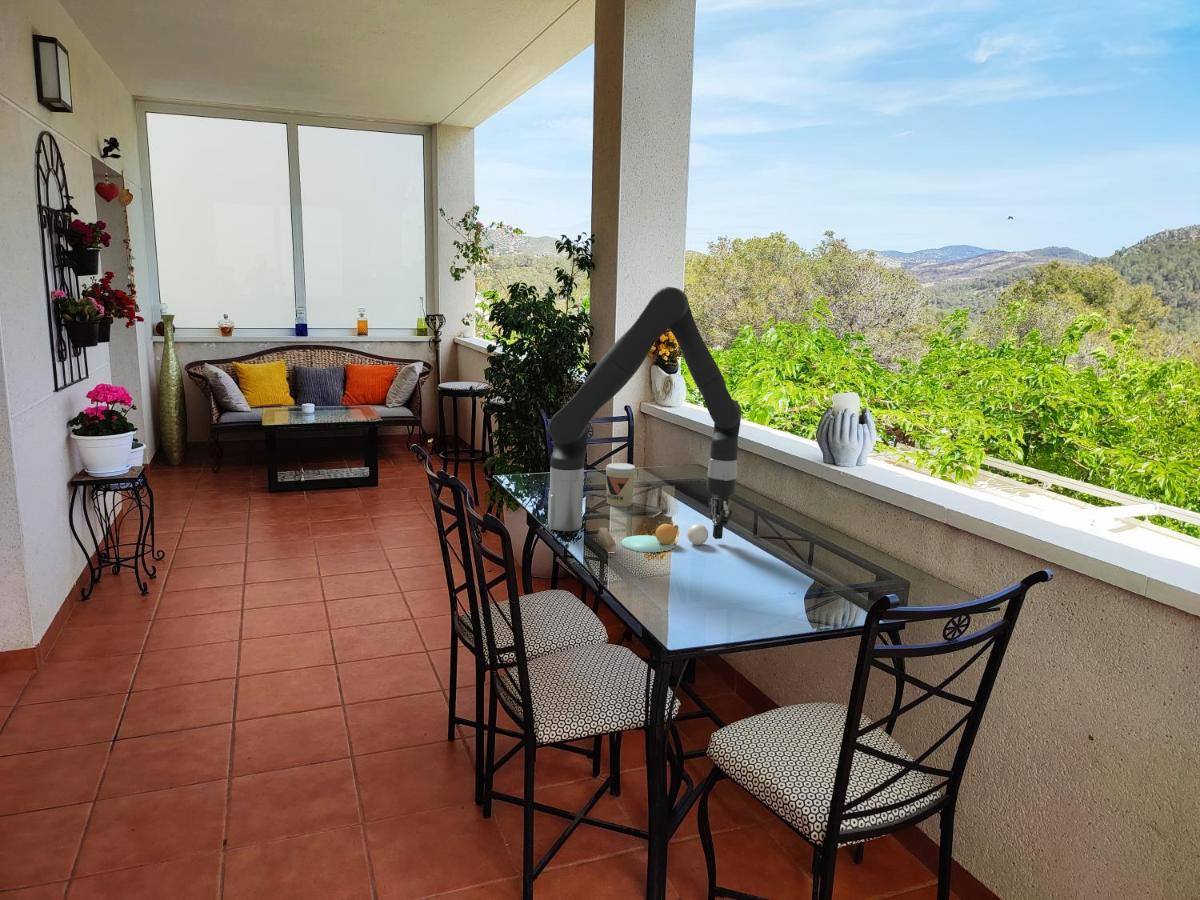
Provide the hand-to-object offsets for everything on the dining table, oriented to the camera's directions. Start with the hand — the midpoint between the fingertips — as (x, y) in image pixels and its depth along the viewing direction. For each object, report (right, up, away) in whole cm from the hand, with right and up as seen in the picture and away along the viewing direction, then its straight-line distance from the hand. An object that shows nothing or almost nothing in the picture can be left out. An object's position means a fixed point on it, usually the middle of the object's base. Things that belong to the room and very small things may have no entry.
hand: (717, 538), depth 211 cm
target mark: (-19, -1, -3) cm, 19 cm away
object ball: (-14, +1, -3) cm, 14 cm away
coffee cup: (-25, +7, +36) cm, 44 cm away
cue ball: (-5, +1, -2) cm, 6 cm away
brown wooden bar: (-30, -1, -5) cm, 30 cm away
